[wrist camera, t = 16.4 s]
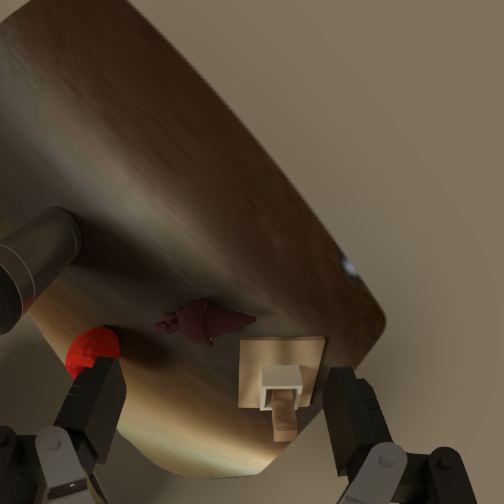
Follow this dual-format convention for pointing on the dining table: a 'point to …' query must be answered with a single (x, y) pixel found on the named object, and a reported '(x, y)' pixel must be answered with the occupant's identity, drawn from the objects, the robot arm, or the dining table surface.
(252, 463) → the dining table surface
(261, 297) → the dining table surface
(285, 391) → the square wooden post
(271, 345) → the wooden board
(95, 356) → the apple
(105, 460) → the robot arm
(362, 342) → the dining table surface
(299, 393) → the white square box
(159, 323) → the icecream
